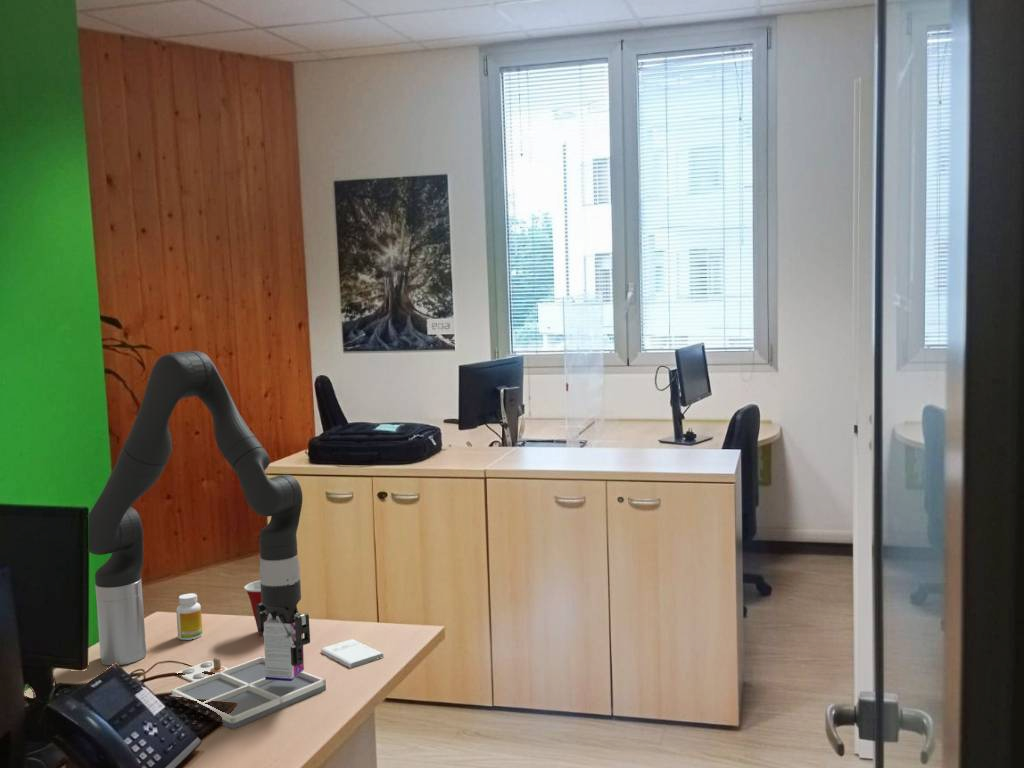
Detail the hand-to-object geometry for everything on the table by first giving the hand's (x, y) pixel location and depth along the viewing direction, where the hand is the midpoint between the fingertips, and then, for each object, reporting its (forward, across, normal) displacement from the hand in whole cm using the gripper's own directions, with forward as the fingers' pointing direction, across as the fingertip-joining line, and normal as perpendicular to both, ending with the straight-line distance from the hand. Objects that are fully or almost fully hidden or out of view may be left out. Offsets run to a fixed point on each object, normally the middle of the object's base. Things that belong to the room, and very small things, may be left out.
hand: (284, 660), depth 178 cm
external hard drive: (+7, -4, +20) cm, 22 cm away
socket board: (+6, -5, -5) cm, 10 cm away
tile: (+6, -22, -5) cm, 24 cm away
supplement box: (+3, 0, 0) cm, 3 cm away
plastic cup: (+7, -32, +18) cm, 37 cm away
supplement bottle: (+7, -45, +5) cm, 45 cm away
